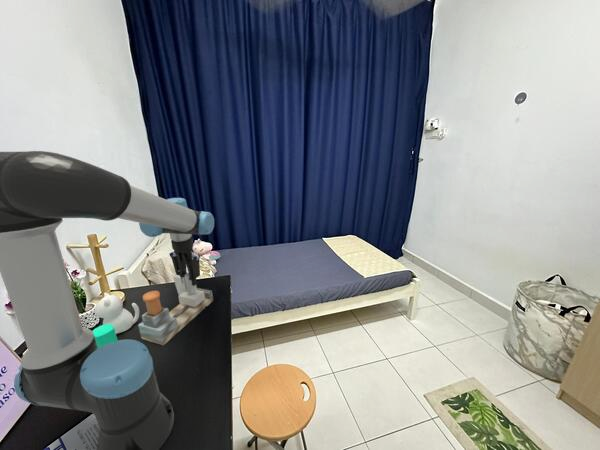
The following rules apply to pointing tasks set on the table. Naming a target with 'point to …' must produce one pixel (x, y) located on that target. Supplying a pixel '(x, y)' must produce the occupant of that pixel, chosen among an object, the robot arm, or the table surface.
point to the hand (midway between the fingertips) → (190, 290)
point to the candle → (105, 335)
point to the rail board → (181, 319)
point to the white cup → (179, 283)
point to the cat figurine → (115, 313)
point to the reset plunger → (152, 302)
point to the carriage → (191, 295)
